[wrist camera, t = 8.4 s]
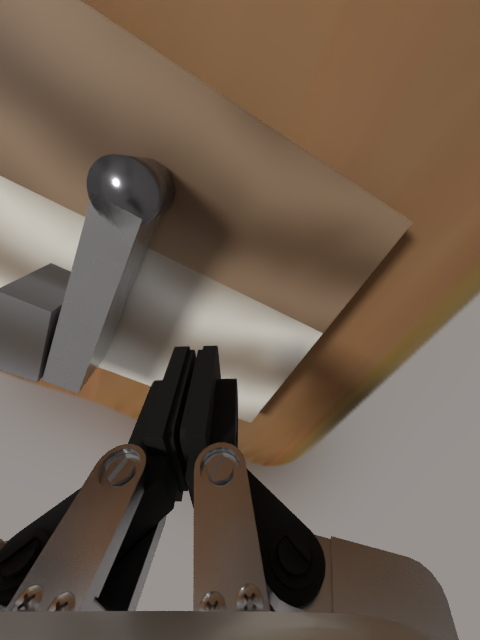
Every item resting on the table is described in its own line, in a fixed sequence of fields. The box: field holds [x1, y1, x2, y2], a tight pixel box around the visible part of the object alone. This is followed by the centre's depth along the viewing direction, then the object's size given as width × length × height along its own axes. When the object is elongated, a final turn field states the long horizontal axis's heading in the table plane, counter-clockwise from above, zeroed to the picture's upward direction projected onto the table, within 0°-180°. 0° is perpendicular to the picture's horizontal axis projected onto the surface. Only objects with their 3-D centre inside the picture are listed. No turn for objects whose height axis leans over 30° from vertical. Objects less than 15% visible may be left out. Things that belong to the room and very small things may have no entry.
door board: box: [0, 0, 413, 423], centre depth 15 cm, size 18×25×6 cm
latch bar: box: [42, 154, 175, 393], centre depth 14 cm, size 13×3×4 cm, turn 150°
